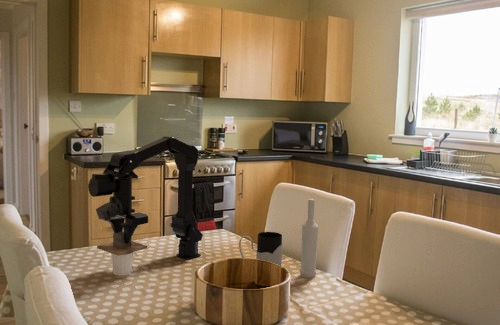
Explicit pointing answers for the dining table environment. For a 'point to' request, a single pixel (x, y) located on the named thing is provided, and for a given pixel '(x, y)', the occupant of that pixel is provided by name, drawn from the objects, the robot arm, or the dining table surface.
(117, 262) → the white cup
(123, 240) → the walnut lid
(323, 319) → the dining table surface
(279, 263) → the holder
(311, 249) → the bottle
